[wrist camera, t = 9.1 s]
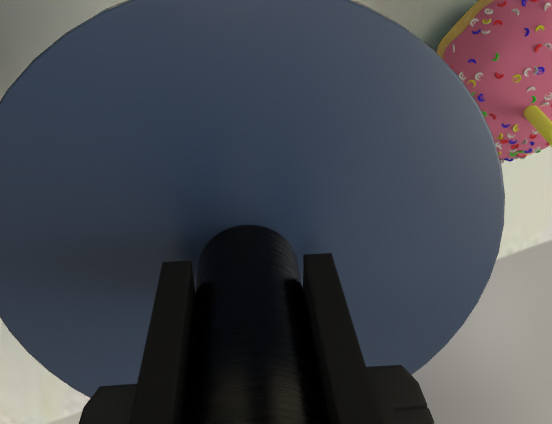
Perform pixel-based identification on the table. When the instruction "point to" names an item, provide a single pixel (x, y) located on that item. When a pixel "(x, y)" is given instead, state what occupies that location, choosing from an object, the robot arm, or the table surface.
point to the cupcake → (507, 70)
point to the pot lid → (241, 195)
